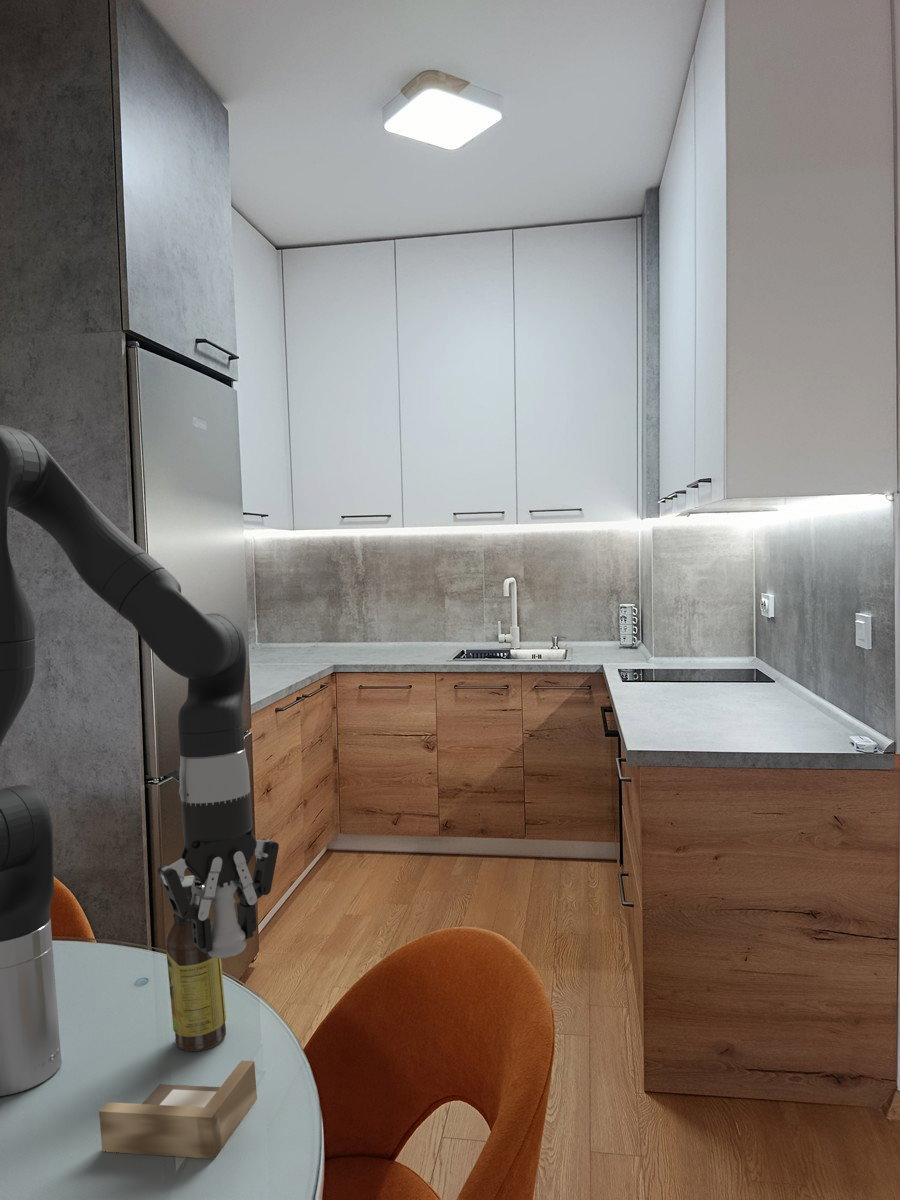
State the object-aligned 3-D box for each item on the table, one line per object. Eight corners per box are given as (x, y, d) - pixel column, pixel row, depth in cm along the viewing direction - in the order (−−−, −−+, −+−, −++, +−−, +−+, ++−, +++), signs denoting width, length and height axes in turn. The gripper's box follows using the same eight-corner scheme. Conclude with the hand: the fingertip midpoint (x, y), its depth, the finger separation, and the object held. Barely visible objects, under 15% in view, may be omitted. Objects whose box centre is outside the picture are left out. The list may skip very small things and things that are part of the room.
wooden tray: (102, 1151, 85) (99, 1111, 84) (159, 1087, 95) (157, 1051, 95) (214, 1158, 82) (211, 1117, 82) (260, 1092, 93) (258, 1055, 93)
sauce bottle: (188, 1027, 109) (177, 870, 108) (235, 1027, 108) (223, 869, 107) (164, 1054, 102) (151, 888, 102) (213, 1055, 101) (201, 887, 101)
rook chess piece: (208, 963, 93) (203, 890, 93) (204, 948, 97) (199, 878, 97) (250, 954, 95) (245, 882, 95) (244, 939, 99) (239, 871, 99)
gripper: (166, 811, 89) (178, 975, 89) (288, 783, 98) (298, 932, 98) (139, 800, 94) (150, 954, 95) (257, 775, 103) (267, 916, 104)
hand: (226, 942), depth 96 cm, fingers closed on rook chess piece, 4 cm apart
